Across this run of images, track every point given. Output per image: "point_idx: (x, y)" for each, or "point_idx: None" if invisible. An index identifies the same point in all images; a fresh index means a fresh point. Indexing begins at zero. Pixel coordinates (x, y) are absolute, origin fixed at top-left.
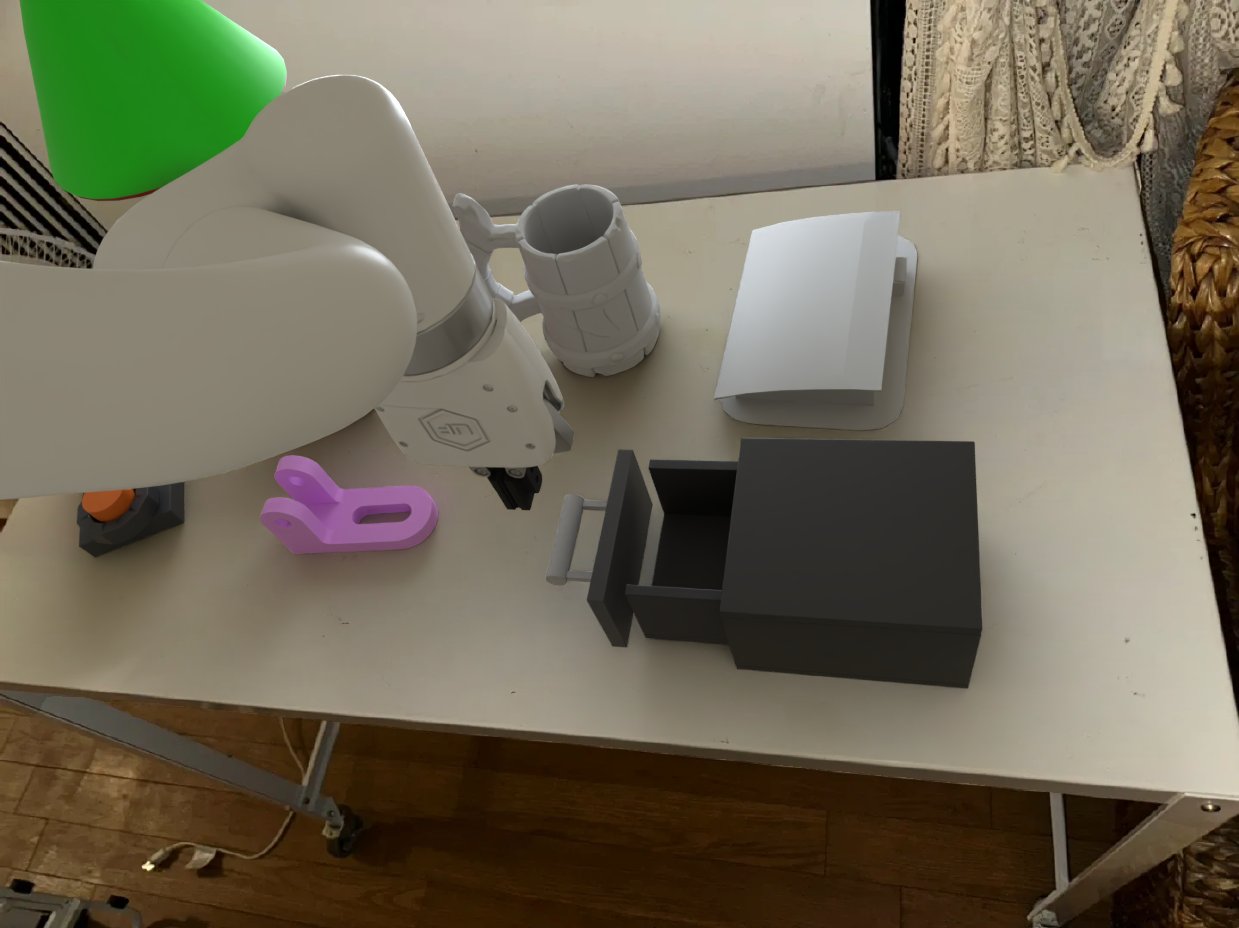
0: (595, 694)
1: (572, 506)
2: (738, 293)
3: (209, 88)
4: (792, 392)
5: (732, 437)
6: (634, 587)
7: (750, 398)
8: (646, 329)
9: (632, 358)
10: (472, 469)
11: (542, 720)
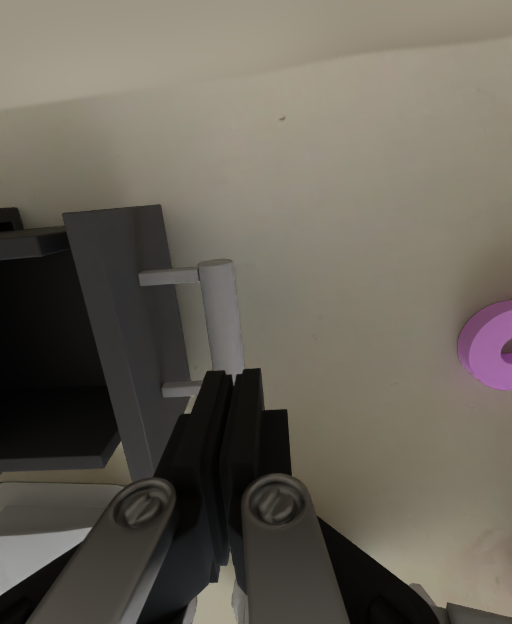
0: (170, 139)
1: None
2: None
3: None
4: (72, 520)
5: (126, 469)
6: (25, 252)
7: None
8: (237, 593)
9: None
10: (308, 515)
11: (228, 84)
